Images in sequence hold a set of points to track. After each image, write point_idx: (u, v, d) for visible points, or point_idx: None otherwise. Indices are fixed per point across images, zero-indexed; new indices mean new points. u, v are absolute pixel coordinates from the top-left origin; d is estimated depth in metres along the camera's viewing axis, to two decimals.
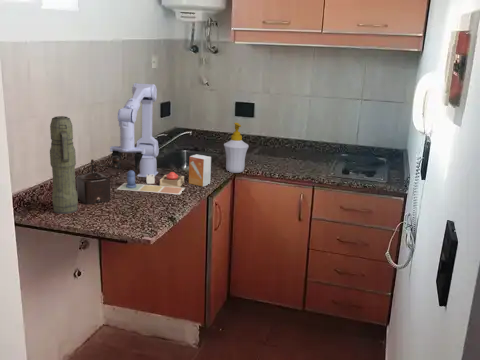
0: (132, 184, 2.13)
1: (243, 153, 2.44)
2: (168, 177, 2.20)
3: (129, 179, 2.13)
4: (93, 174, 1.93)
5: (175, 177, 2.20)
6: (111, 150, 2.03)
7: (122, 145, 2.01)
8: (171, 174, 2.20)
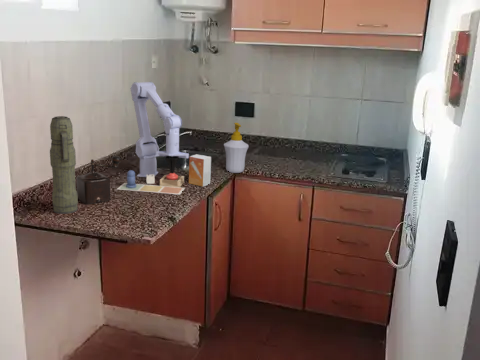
0: (132, 184, 2.13)
1: (243, 153, 2.44)
2: (168, 177, 2.20)
3: (129, 179, 2.13)
4: (93, 174, 1.93)
5: (175, 177, 2.20)
6: (157, 155, 2.19)
7: (168, 150, 2.16)
8: (171, 174, 2.20)
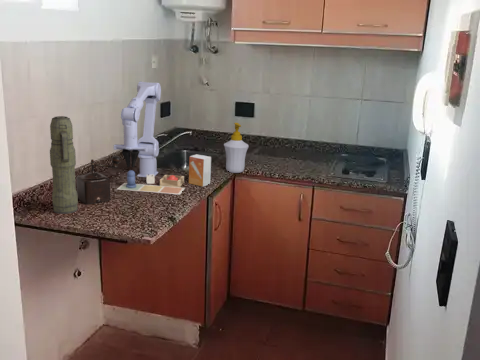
0: (132, 184, 2.13)
1: (243, 153, 2.44)
2: None
3: (129, 179, 2.13)
4: (93, 174, 1.93)
5: None
6: (115, 148, 2.10)
7: (125, 143, 2.08)
8: (171, 177, 2.21)
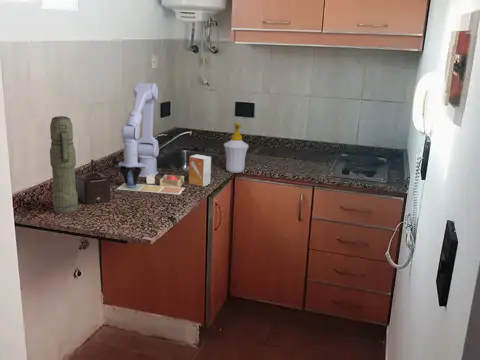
0: (132, 184, 2.13)
1: (243, 153, 2.44)
2: None
3: (129, 179, 2.13)
4: (93, 174, 1.93)
5: None
6: None
7: (126, 161, 2.10)
8: (171, 177, 2.21)
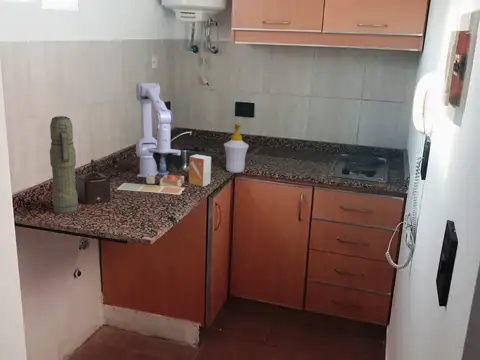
0: (164, 171, 2.10)
1: (243, 153, 2.44)
2: None
3: (161, 166, 2.09)
4: (93, 174, 1.93)
5: None
6: (147, 151, 2.09)
7: (159, 147, 2.06)
8: (171, 177, 2.21)
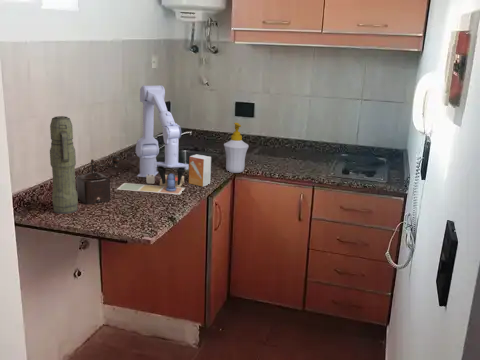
0: (172, 187, 2.12)
1: (243, 153, 2.44)
2: None
3: (169, 182, 2.11)
4: (93, 174, 1.93)
5: None
6: (156, 166, 2.10)
7: (167, 161, 2.08)
8: None
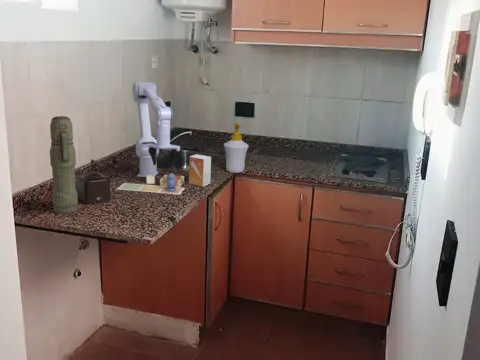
0: (172, 187, 2.12)
1: (243, 153, 2.44)
2: None
3: (169, 182, 2.11)
4: (93, 174, 1.93)
5: None
6: (147, 147, 2.14)
7: (158, 142, 2.11)
8: None
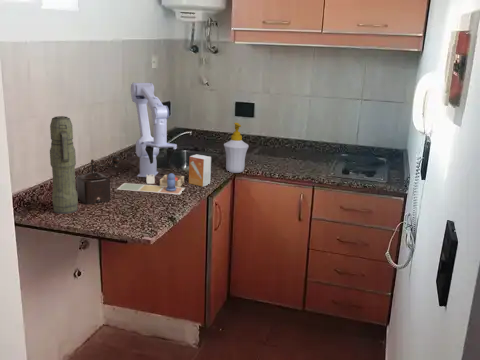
0: (172, 187, 2.12)
1: (243, 153, 2.44)
2: None
3: (169, 182, 2.11)
4: (93, 174, 1.93)
5: None
6: (144, 145, 2.16)
7: (155, 141, 2.13)
8: None
